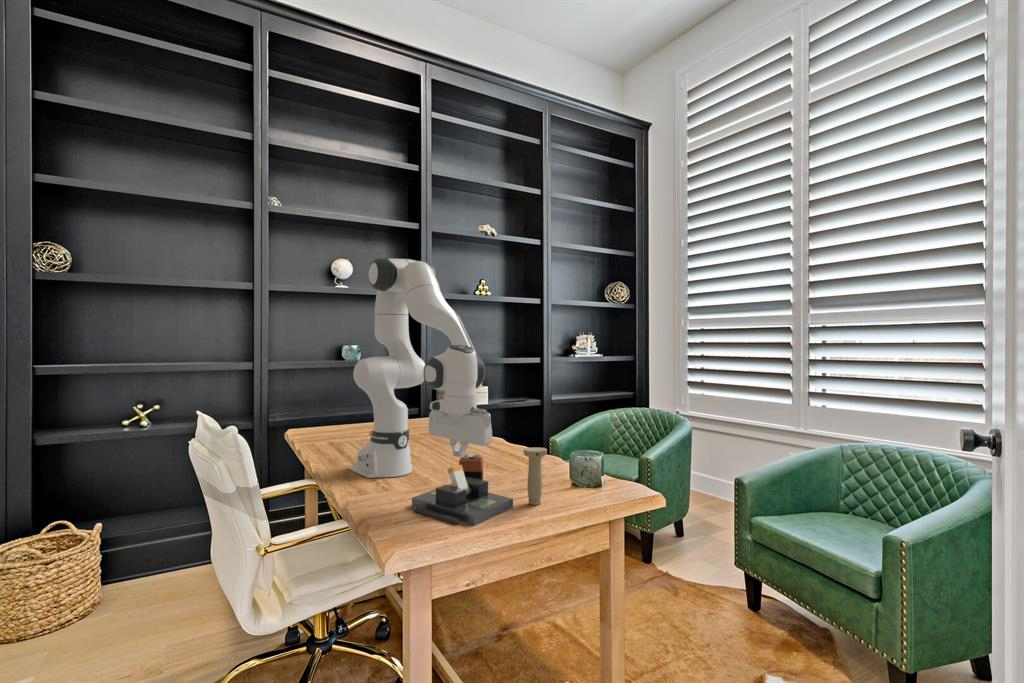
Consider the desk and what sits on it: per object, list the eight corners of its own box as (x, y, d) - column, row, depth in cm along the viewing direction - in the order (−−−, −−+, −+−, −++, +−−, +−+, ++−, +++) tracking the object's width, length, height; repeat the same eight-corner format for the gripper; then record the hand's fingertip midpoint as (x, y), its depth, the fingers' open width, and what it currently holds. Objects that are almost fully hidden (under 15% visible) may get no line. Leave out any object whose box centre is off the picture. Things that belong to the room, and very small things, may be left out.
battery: (481, 490, 146) (481, 457, 146) (458, 490, 147) (458, 456, 147) (483, 486, 151) (483, 453, 150) (461, 485, 151) (461, 453, 151)
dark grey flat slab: (413, 512, 128) (413, 507, 128) (465, 492, 145) (465, 488, 145) (456, 525, 119) (456, 520, 119) (507, 502, 136) (507, 498, 136)
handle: (548, 506, 133) (548, 450, 133) (525, 507, 132) (525, 451, 132) (543, 500, 138) (543, 447, 138) (521, 501, 137) (521, 447, 137)
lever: (455, 499, 130) (445, 469, 133) (466, 495, 134) (456, 466, 136) (461, 497, 129) (451, 467, 131) (472, 493, 133) (462, 464, 135)
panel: (411, 506, 132) (411, 484, 132) (452, 491, 145) (452, 471, 145) (474, 525, 119) (474, 500, 119) (513, 507, 132) (513, 485, 132)
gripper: (497, 408, 129) (496, 461, 129) (441, 400, 141) (440, 448, 141) (482, 411, 124) (481, 466, 124) (425, 402, 136) (424, 452, 136)
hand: (458, 456), depth 133 cm, fingers closed
